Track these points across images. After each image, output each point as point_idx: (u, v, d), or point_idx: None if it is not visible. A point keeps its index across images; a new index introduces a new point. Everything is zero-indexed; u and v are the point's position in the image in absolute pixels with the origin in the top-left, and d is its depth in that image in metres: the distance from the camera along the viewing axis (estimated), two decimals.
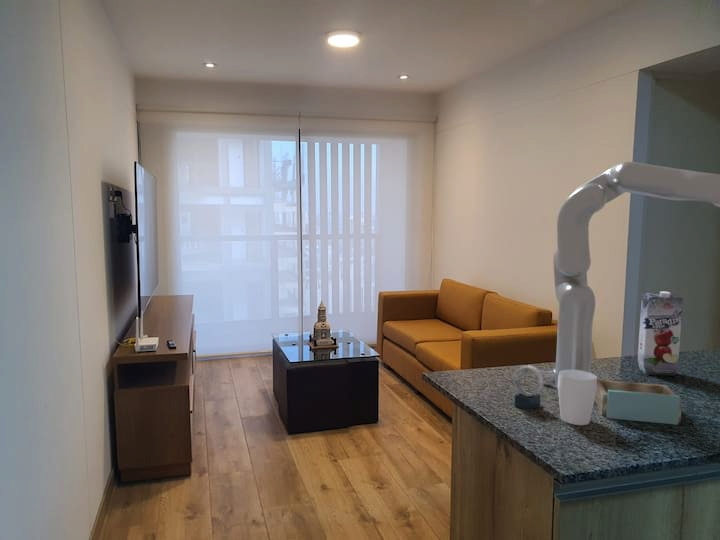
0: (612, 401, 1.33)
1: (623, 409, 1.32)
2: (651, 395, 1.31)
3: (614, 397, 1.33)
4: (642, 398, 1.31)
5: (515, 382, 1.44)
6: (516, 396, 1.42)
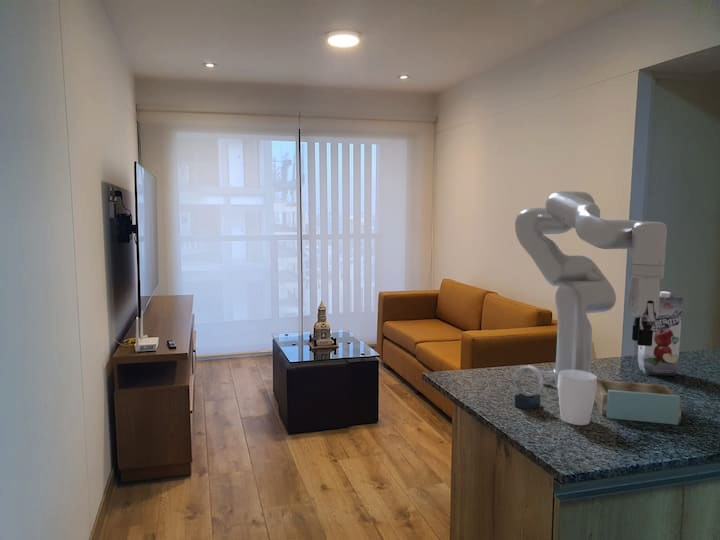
0: (612, 401, 1.33)
1: (623, 409, 1.32)
2: (651, 395, 1.31)
3: (614, 397, 1.33)
4: (642, 398, 1.31)
5: (515, 382, 1.44)
6: (516, 396, 1.42)
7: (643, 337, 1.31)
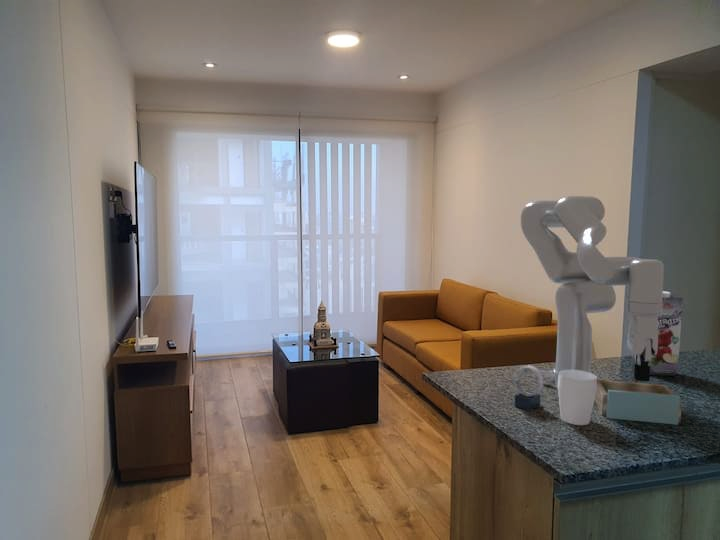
0: (612, 401, 1.33)
1: (623, 409, 1.32)
2: (651, 395, 1.31)
3: (614, 397, 1.33)
4: (642, 398, 1.31)
5: (515, 382, 1.44)
6: (516, 396, 1.42)
7: (641, 373, 1.33)
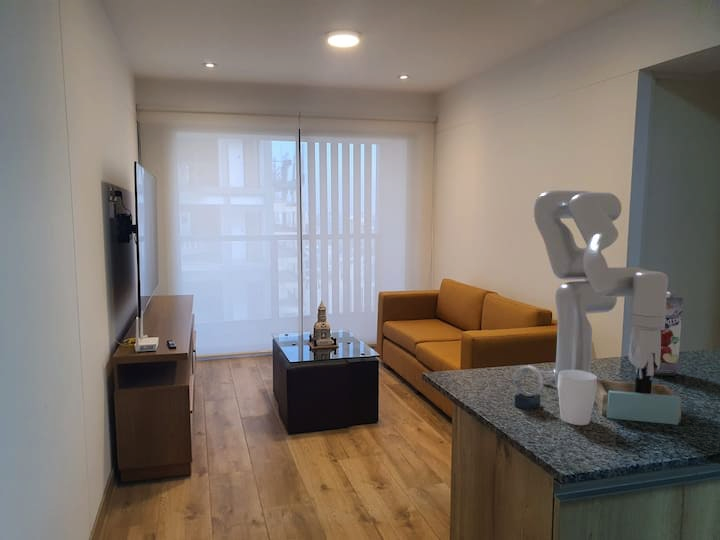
0: (612, 402, 1.32)
1: (623, 410, 1.32)
2: (652, 396, 1.30)
3: (614, 398, 1.32)
4: (643, 399, 1.30)
5: (515, 382, 1.44)
6: (516, 396, 1.42)
7: (642, 386, 1.31)
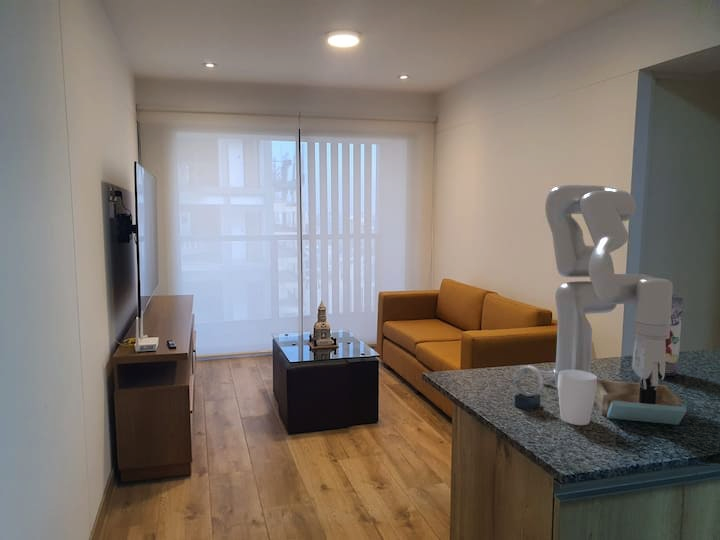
0: (614, 410, 1.30)
1: (625, 414, 1.31)
2: (656, 409, 1.26)
3: (617, 408, 1.29)
4: (646, 410, 1.27)
5: (515, 382, 1.44)
6: (516, 396, 1.42)
7: (646, 397, 1.27)
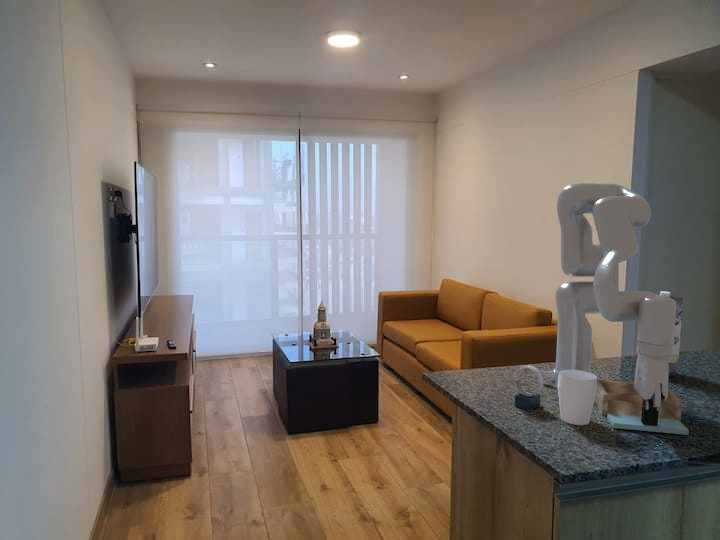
0: None
1: None
2: (658, 431, 1.25)
3: None
4: None
5: (515, 382, 1.44)
6: (516, 396, 1.42)
7: (648, 417, 1.25)
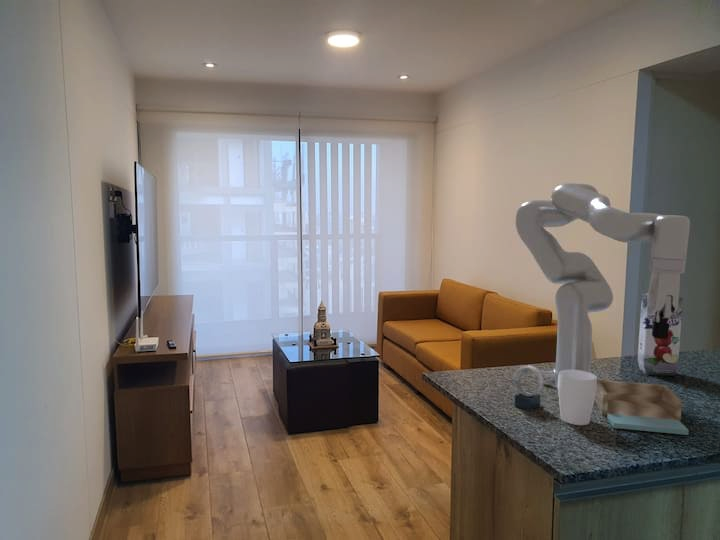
0: None
1: None
2: (658, 431, 1.25)
3: None
4: None
5: (515, 382, 1.44)
6: (516, 396, 1.42)
7: (659, 330, 1.32)
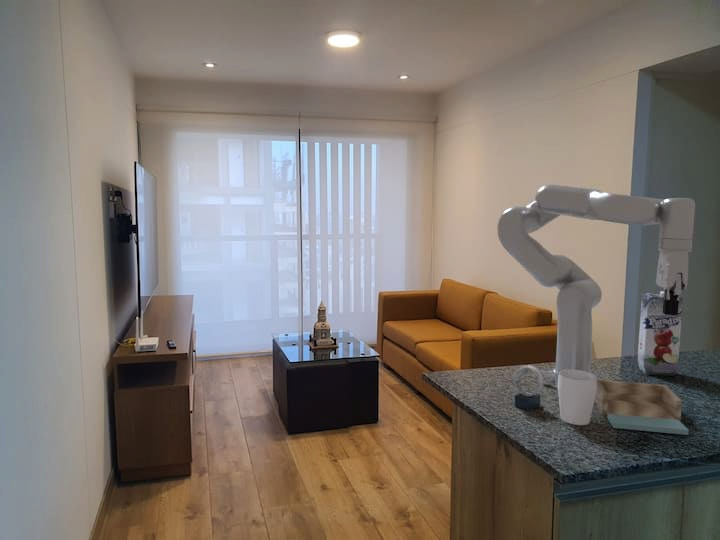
0: None
1: None
2: (658, 431, 1.25)
3: None
4: None
5: (515, 382, 1.44)
6: (516, 396, 1.42)
7: (669, 307, 1.40)
